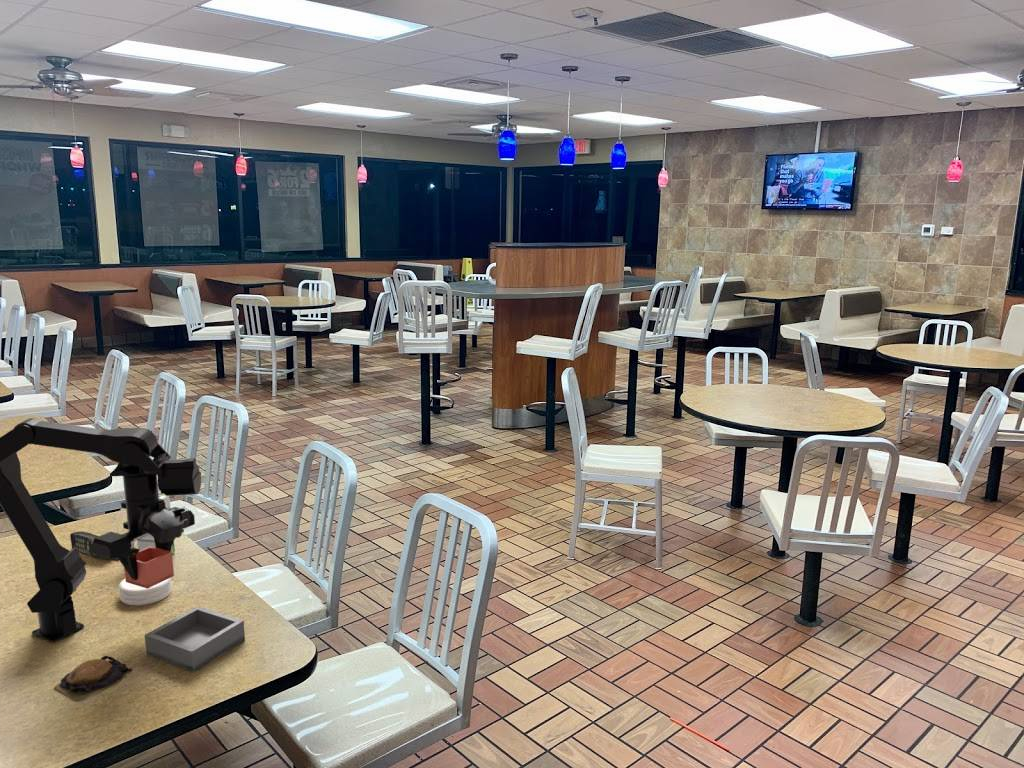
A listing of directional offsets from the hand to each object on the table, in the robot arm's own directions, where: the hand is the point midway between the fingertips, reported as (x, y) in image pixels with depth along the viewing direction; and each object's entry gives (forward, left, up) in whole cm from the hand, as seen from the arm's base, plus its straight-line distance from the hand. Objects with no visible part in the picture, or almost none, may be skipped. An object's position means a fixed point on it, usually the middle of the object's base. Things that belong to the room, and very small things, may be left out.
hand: (149, 572), depth 148 cm
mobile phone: (-40, +16, -11) cm, 44 cm away
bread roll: (+6, -17, -12) cm, 22 cm away
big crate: (+14, -2, -11) cm, 18 cm away
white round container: (-12, +8, -11) cm, 19 cm away
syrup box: (-26, +22, -11) cm, 36 cm away
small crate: (0, 0, -1) cm, 1 cm away
